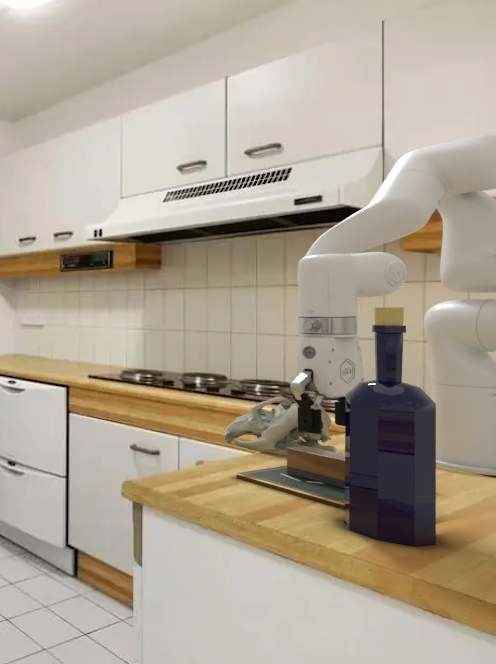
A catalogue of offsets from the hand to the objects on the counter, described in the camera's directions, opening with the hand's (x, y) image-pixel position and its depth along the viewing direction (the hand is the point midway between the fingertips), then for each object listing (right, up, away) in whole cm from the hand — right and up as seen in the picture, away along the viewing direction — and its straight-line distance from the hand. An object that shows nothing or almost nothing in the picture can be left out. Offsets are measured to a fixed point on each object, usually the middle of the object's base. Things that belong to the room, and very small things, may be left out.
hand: (328, 429), depth 92 cm
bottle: (-9, -10, -19) cm, 23 cm away
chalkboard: (0, -10, 0) cm, 10 cm away
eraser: (-1, -9, 0) cm, 9 cm away
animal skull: (+7, -10, +21) cm, 24 cm away
